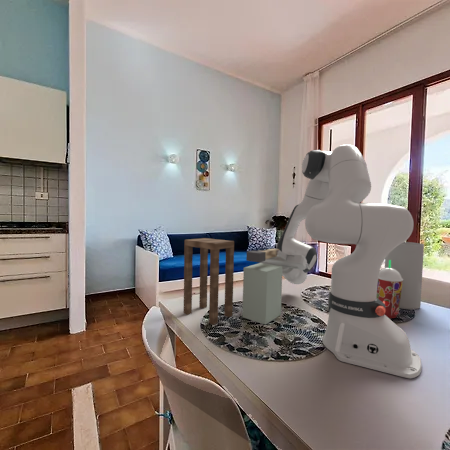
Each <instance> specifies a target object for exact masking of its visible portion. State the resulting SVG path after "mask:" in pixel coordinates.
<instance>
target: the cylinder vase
mask: <svg viewBox="0 0 450 450" xmlns="http://www.w3.org/2000/svg"><path fill="white" fill-rule="evenodd" d="M424 248H425V244H424V243H419V242H418V243H417V242H412V241H411V242H410V241H405V242H403V243H402V244H400V245H398V246H397V247H395V248H394V249H393V250H392V251H391V252H390V253H389V254H388V255H387V257H386V258H385V260H384V268H387V267H389V260H391V268H393V269H395V270H397V271H398V272H399V273H400V275H401V277H402V279H403V283H402V291H401V299H400V306H399V309H403V310H409V311H410V310H413V311H414V310H419V309H420V308H421V305H422V304H421V302H422V289H423V288H422V287H423V286H422V285H423V271H424V270H423V269H424V267H423V265H424V253H425V252H424V251H425V249H424Z"/></svg>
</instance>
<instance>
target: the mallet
mask: <svg viewBox="0 0 450 450" xmlns="http://www.w3.org/2000/svg"><path fill="white" fill-rule="evenodd" d="M276 250H279V249H277V248H269V249H268V250H267V249H265V250H264V249H263V250H261V251H258V250H249V251H246V256H245V258H246V262H247V261H248V262H254V263H259V262H263V261H265V259H269V258H272V257H276V256H277V255H276Z"/></svg>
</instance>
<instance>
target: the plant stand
mask: <svg viewBox="0 0 450 450" xmlns="http://www.w3.org/2000/svg"><path fill="white" fill-rule="evenodd" d="M183 242H184V247H183V248H184V249H183V251H184V252H183V263H184V264H183V265H184V266H183V269H184V270H183V314H184V315H187V316H189V315H192V314H193V313H192V311H193V310H192V309H193V307H192V306H193V300H192V299H193V253H194V251H193V249H194V248H197V249H198V248H199V249H200V250H199V252H200V254H199V301H198V302H199V304H198V305H199V307H198V308H201V309H206V308H207V307H208V304H209V307H208V308H209V309H208V310H209V311H208V313H209V314H208V315H209V316H208V317H209V318H208V319H209V320H208V323H209V324H210V325H213V326H214V325H217V324H218V323H219V322H218V321H219V286H220V285H219V281H220V279H219V278H220V277H219V276H220V275H219V274H220V273H219V272H220V250H223V249H225V268H224V269H225V270H224V271H225V273H224V274H225V276H224V316H225V317H227V318H231V317H233V309H234V305H233V304H234V267H235V266H234V264H235V260H234V259H235V258H234V256H235V241H234V240H225V239H217V238H216V239H215V238H208V237H201V238H191V239H189V238H188V239H184V241H183ZM209 250H210V253H209ZM209 254H210V257H209ZM209 259H210V261H209ZM208 263H209V266H208ZM208 269H209V270H208ZM208 271H209V303H208Z"/></svg>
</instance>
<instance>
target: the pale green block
mask: <svg viewBox="0 0 450 450" xmlns="http://www.w3.org/2000/svg"><path fill="white" fill-rule="evenodd" d="M242 279H243V282H242V285H243V286H242V318H243V319H247V320H250V321H253V322H255V323H256V322H257V323H260V324H262V325H264V326H265V325H268V324H269V323H270V322H272V321H273V320H275V319H276V318H278V317H280V316H281V315H282V293H283V292H282V291H283V290H282V289H283V288H282V287H283V276H282V266H276V265H270V264H263V263H259V262H257V263H255V264H251V265H249V266H245V267H243V276H242Z"/></svg>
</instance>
